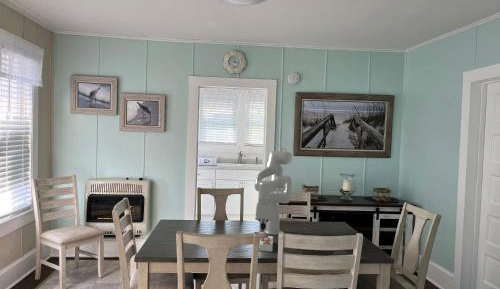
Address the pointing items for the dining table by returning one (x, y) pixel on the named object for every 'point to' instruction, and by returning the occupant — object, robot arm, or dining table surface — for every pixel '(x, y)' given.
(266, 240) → the button
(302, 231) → the dining table surface
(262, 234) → the button
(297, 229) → the dining table surface
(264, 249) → the panel
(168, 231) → the dining table surface
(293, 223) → the dining table surface
